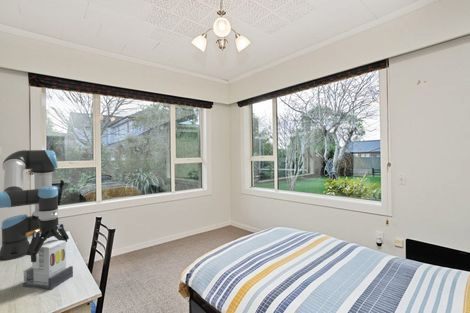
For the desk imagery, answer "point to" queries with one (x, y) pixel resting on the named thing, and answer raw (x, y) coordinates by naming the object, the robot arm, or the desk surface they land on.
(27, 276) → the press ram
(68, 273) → the press bed
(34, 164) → the robot arm
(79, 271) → the desk surface
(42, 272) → the supplement box
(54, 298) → the desk surface
